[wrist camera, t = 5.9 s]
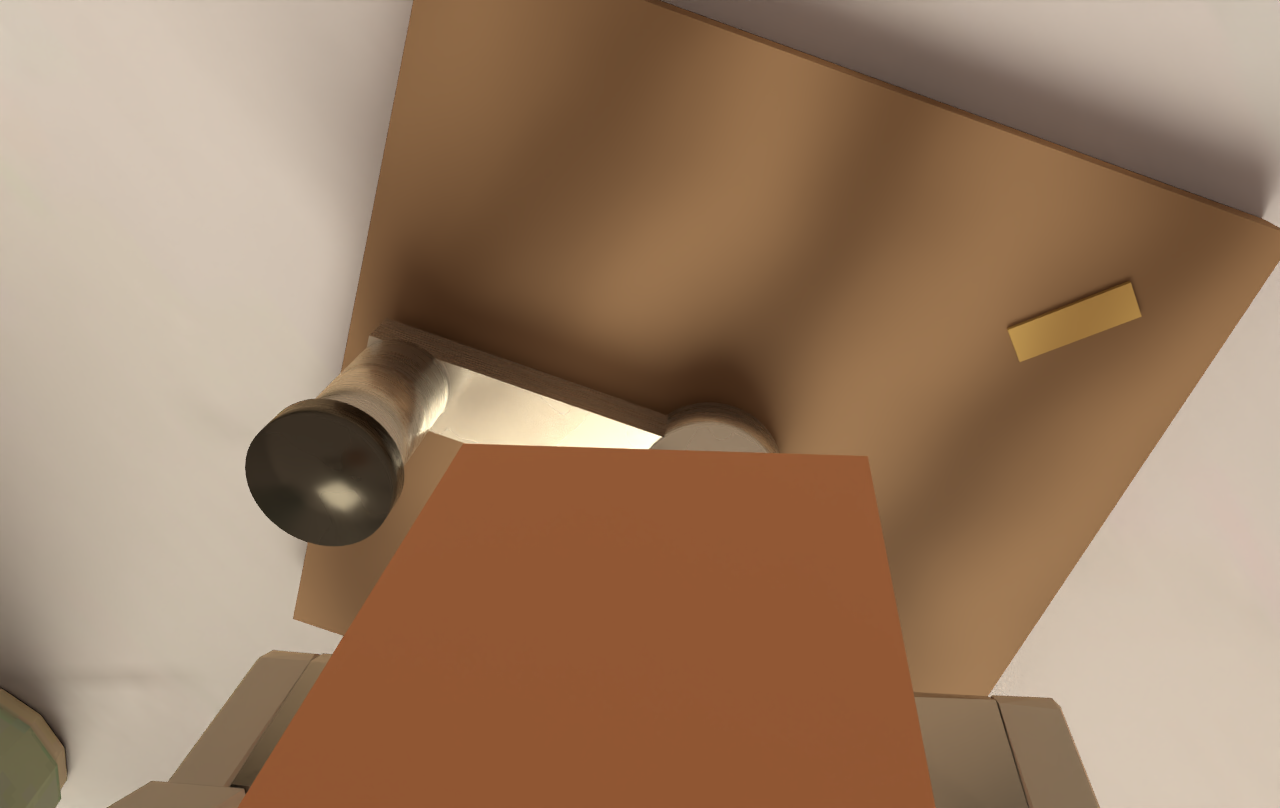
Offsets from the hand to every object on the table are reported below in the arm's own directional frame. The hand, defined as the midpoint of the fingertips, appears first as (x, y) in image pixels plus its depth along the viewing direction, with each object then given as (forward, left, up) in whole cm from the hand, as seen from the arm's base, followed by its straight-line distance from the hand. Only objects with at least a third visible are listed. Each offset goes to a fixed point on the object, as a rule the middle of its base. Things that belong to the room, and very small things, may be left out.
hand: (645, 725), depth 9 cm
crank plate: (-2, +5, -17) cm, 18 cm away
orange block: (0, 0, -2) cm, 2 cm away
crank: (+2, +5, -15) cm, 16 cm away
